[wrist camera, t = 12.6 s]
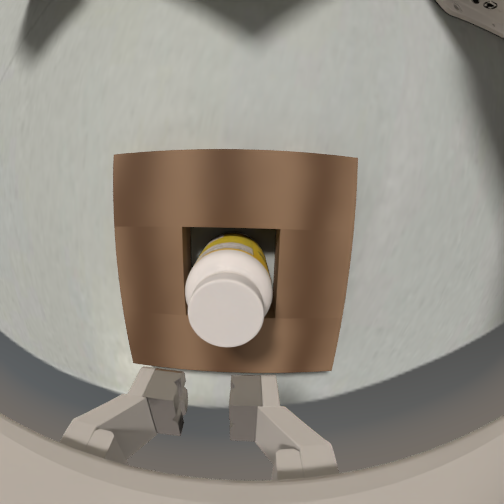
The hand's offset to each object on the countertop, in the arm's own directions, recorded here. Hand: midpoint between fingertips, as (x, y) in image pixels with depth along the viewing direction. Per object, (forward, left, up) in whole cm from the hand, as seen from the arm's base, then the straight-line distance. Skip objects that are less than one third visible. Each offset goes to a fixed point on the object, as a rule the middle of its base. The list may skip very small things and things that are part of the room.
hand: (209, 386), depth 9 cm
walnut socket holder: (0, 0, -15) cm, 15 cm away
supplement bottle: (0, 0, -15) cm, 15 cm away
